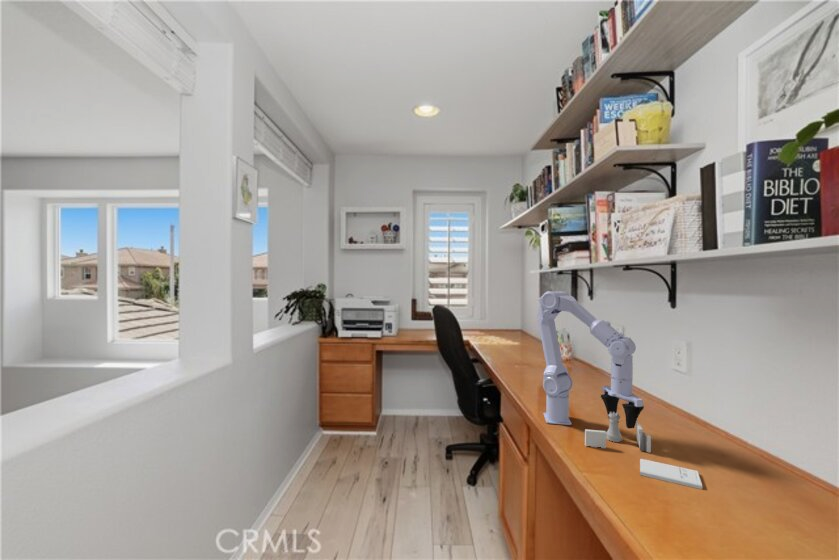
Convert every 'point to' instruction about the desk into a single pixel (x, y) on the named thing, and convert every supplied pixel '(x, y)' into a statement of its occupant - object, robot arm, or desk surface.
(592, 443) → the wall
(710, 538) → the desk surface
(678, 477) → the external hard drive
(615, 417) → the rook chess piece
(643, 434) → the door
